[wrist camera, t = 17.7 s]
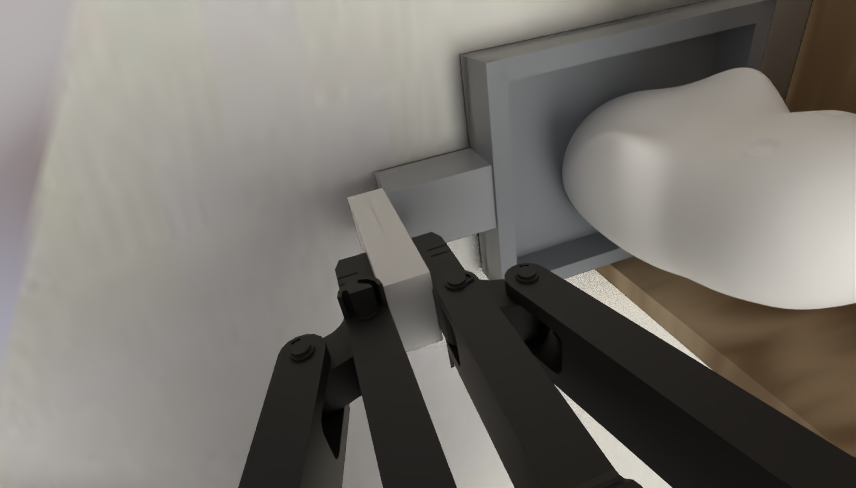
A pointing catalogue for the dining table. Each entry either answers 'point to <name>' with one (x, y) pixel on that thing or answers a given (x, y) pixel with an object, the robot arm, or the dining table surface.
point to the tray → (559, 129)
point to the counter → (760, 324)
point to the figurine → (724, 188)
